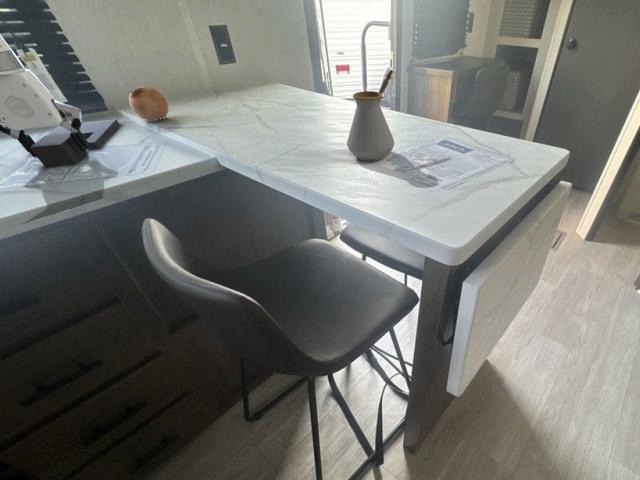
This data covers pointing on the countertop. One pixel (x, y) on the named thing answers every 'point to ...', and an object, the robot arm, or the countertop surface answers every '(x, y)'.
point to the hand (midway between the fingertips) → (62, 152)
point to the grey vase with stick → (370, 126)
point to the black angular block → (57, 150)
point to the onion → (148, 103)
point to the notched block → (92, 131)
